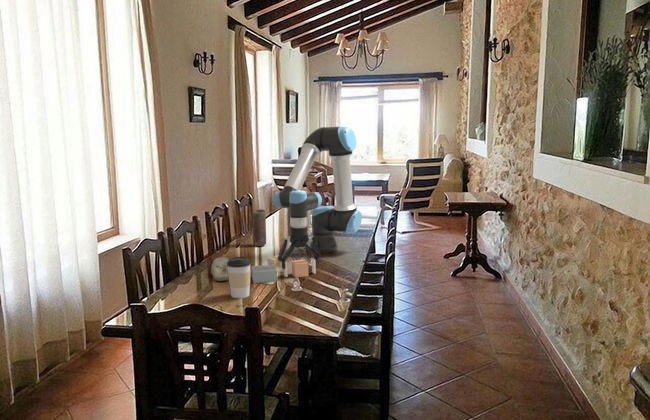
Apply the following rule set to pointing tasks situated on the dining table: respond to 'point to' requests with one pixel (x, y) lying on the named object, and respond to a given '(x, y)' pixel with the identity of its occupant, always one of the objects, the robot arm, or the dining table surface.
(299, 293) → the dining table surface
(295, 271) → the terracotta cube
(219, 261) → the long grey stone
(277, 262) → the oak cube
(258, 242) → the candle
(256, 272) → the slate base
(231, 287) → the coffee cup
